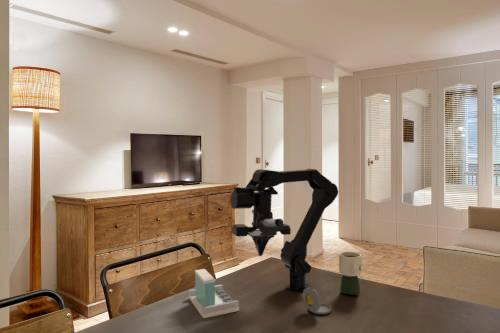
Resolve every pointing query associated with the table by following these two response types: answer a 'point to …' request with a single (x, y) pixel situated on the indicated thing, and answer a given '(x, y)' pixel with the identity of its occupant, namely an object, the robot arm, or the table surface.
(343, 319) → the table surface
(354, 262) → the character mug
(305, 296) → the pocket watch
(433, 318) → the table surface
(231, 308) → the white slotted tray
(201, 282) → the teal and cream panel
